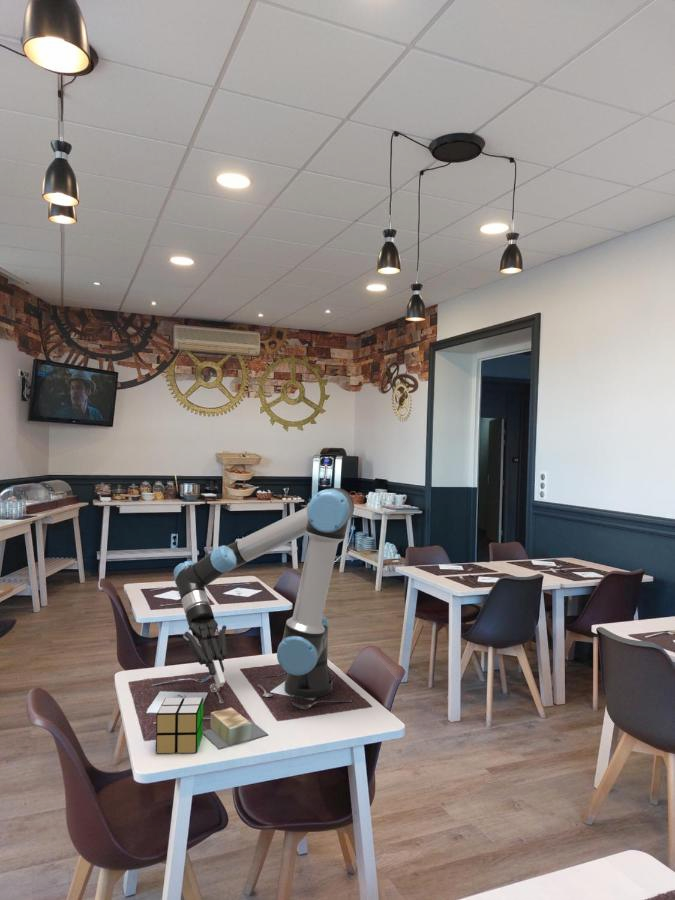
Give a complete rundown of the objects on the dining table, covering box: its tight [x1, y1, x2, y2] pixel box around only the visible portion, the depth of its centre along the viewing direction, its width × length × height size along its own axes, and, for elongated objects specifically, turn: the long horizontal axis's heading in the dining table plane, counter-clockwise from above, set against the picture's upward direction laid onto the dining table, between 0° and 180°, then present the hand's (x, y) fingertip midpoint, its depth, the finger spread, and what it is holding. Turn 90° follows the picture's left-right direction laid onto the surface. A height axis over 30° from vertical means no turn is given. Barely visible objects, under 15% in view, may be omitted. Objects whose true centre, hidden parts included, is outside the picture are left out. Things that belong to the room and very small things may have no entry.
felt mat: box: [202, 718, 269, 750], centre depth 160 cm, size 14×11×1 cm
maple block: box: [210, 707, 251, 745], centre depth 160 cm, size 6×4×12 cm
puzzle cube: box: [155, 697, 204, 755], centre depth 154 cm, size 10×10×10 cm
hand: (221, 684), depth 165 cm, fingers closed
